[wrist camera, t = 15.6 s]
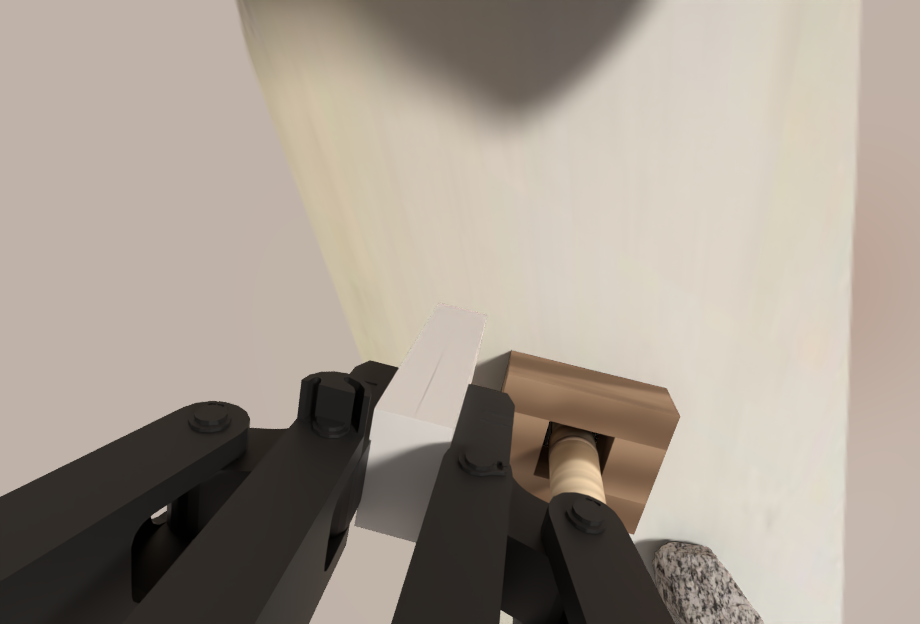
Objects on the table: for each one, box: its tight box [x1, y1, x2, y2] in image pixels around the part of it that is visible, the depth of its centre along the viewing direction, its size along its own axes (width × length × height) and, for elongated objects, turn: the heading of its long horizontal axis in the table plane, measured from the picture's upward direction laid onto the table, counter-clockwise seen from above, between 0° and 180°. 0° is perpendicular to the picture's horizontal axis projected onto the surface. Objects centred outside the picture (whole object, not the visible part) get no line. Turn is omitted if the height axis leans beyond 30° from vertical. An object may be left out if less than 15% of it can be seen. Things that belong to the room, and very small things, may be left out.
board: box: [501, 351, 680, 534], centre depth 48 cm, size 12×14×5 cm
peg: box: [549, 422, 606, 504], centre depth 44 cm, size 4×4×14 cm
